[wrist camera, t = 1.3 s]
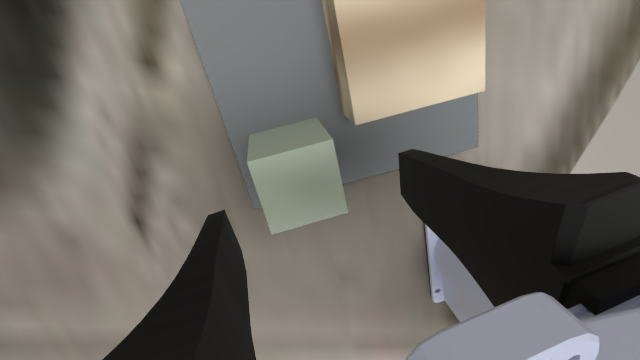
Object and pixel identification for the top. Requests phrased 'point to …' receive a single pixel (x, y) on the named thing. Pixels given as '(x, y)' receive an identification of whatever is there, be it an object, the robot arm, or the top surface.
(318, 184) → the sage block
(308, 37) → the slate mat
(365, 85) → the oak base
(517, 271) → the robot arm
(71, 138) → the top surface
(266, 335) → the top surface
